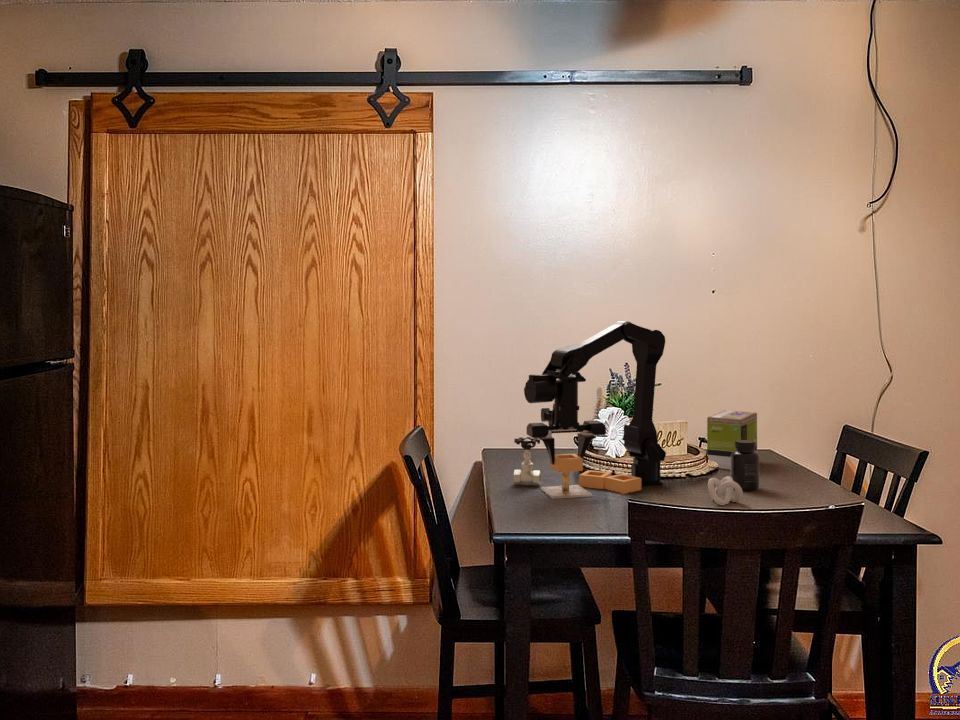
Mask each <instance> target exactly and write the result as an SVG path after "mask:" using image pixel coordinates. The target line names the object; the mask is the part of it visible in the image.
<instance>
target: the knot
mask: <svg viewBox="0 0 960 720" xmlns="http://www.w3.org/2000/svg"><path fill="white" fill-rule="evenodd" d="M715 486H716V487H715ZM733 488H734V489H733ZM707 491H708V494H709V496H710V498H711V501H713V500H714V501H713V502H714V503H715V504H717V505H718V504H727V505H728V504H729V503H731V502H730V501H734V502H736V503H739V502H741V501H742V499H743V497H744V491H742V488H741V487H740V485H739V484H737V483H736V482H734V481H733V479H732V478H731V476H729V475H728V476H727V475H726V476H725V477H723V478H721V479H718V478H716V477H711V478H709V480H708V481H707ZM734 491H735V493H736V494H735V496H734V495H733V493H734ZM721 496H723V499H722V498H721Z"/></svg>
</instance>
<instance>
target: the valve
mask: <svg viewBox="0 0 960 720" xmlns="http://www.w3.org/2000/svg"><path fill="white" fill-rule="evenodd" d="M513 442H514V443H515V444H516V445H520V447H521V448H522V449H523V450H525V452H523V459H524V460H523V462H521V465H520V466H521V468H522V469H514V471H513V483H514V485H523V486H526V487H528V486H529V487H530V486H532V485H534V486H540V485H541V481H542V473H541V471H540V470H538V469H537V470H536V469H535V470H533V468H534V463H533V462H532V460H531V459H532V454H531V452H530V450H532V449H533V448H535V447H536V444H541V440H540V439H539V438H532V437H530V436H526V437H518V438H514V441H513Z"/></svg>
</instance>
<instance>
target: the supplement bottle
mask: <svg viewBox="0 0 960 720" xmlns="http://www.w3.org/2000/svg"><path fill="white" fill-rule="evenodd" d="M735 449H736V450H735V451H734V452H732V454H731V470H730V477H731V478H732V479H733V481H734V482H736V483H737V484H739V485H740V487H741V488H742V491H743V492H755V491H758V490H759V488H760V454H759V453H758V451H757V452H755V451H754V449H755V441H751V440H736V441H735ZM733 490H735V489H734V488H733Z"/></svg>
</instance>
